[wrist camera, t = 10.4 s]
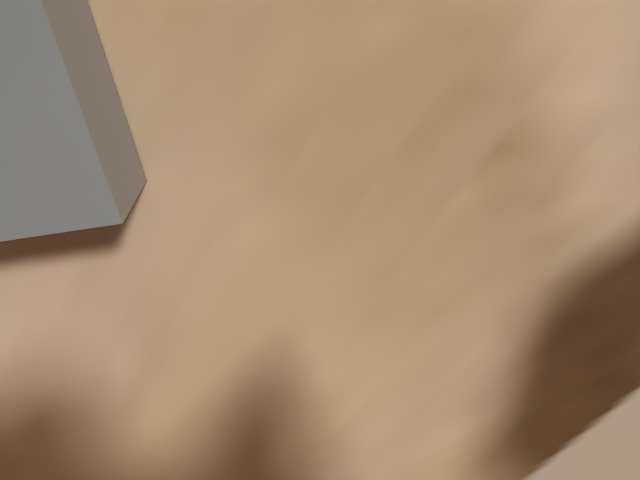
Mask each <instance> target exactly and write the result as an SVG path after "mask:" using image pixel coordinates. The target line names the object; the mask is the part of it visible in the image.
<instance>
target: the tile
mask: <svg viewBox="0 0 640 480" xmlns="http://www.w3.org/2000/svg"><path fill="white" fill-rule="evenodd" d="M146 181H147V180H146V177H145V174H144V171H143V168H142V164H141V161H140V158H139V155H138V152H137V149H136V146H135V143H134V140H133V137H132V134H131V131H130V128H129V125H128V122H127V119H126V116H125V113H124V110H123V107H122V104H121V101H120V98H119V95H118V92H117V89H116V85H115V82H114V79H113V76H112V73H111V70H110V67H109V64H108V61H107V58H106V55H105V52H104V49H103V46H102V43H101V40H100V37H99V34H98V31H97V28H96V25H95V22H94V19H93V16H92V13H91V10H90V6H89V3H88V0H0V242H2V241H9V240H15V239H22V238H29V237H36V236H42V235H49V234H56V233H63V232H69V231H76V230H83V229H90V228H96V227H103V226H110V225H117V224H123V222H124V220H125V219H126V217H127V215H128V213H129V212H130V210H131V208H132V206H133V204H134V203H135V201H136V199H137V197H138V196H139V194H140V192H141V190H142V189H143V187H144V185H145V183H146Z"/></svg>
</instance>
